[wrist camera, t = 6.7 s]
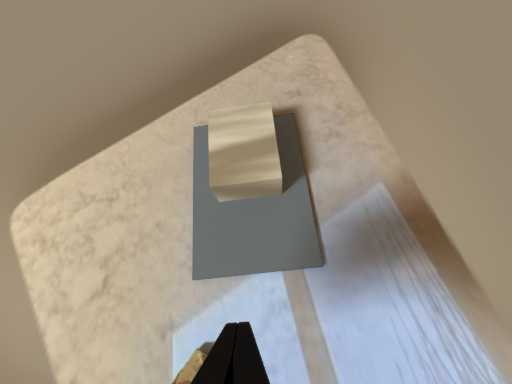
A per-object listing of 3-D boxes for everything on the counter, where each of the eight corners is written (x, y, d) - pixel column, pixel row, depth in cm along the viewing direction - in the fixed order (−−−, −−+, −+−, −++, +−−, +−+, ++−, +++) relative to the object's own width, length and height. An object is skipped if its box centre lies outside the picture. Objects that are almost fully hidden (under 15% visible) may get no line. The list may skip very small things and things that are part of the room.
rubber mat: (322, 266, 21) (323, 265, 21) (194, 280, 22) (192, 279, 21) (293, 115, 27) (293, 113, 27) (195, 129, 28) (193, 127, 28)
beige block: (282, 177, 20) (270, 101, 23) (209, 186, 21) (207, 110, 24) (282, 194, 23) (272, 125, 27) (219, 202, 24) (216, 133, 27)
